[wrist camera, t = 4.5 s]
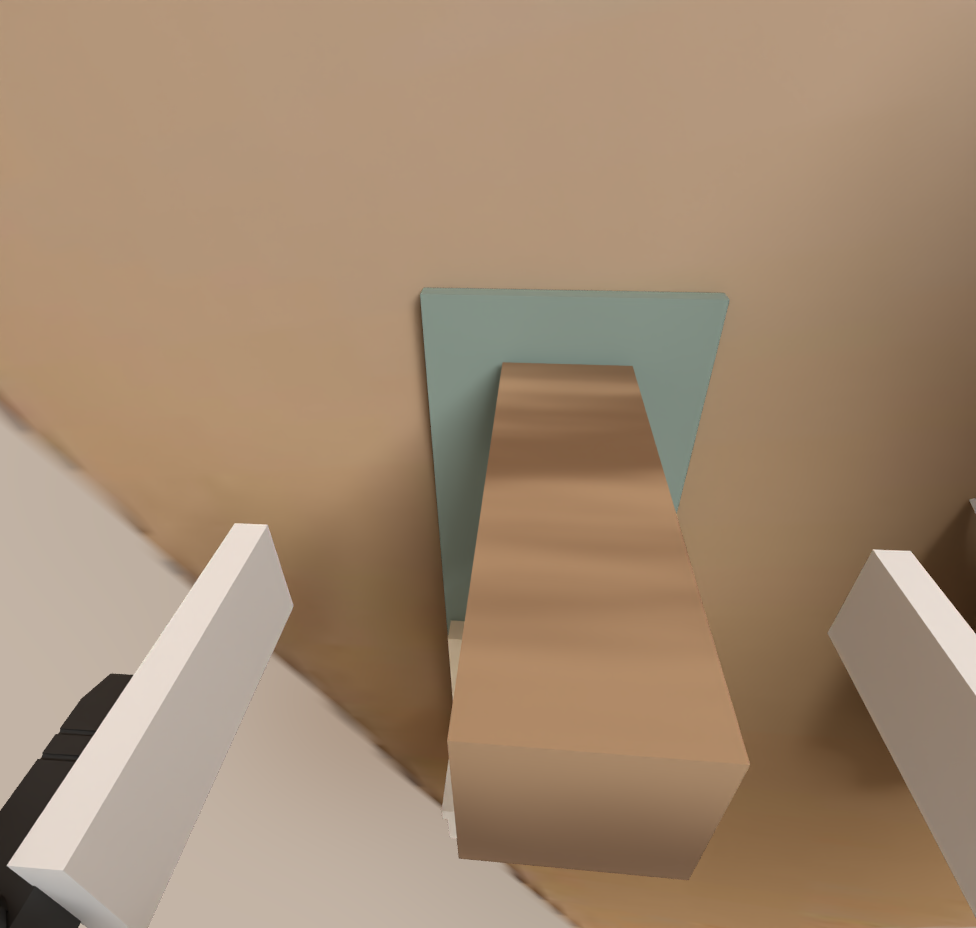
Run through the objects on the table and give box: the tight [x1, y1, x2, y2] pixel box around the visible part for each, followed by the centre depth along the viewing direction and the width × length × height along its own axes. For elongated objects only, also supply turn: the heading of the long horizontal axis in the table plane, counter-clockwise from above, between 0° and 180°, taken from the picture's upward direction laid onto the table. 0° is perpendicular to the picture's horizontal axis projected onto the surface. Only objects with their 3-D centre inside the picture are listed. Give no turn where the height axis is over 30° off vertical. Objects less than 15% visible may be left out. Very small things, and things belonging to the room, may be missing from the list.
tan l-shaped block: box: [447, 362, 750, 880], centre depth 15 cm, size 10×6×12 cm, turn 1°
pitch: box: [420, 288, 729, 698], centre depth 24 cm, size 27×9×2 cm, turn 1°
